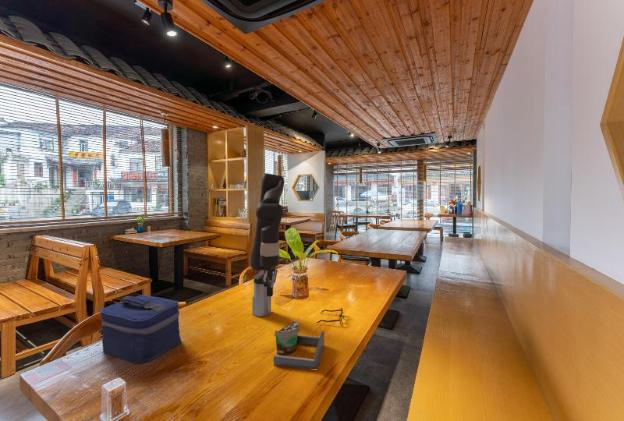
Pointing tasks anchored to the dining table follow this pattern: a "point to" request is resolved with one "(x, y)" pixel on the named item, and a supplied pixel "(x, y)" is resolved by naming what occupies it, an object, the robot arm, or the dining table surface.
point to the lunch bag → (140, 328)
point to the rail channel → (303, 362)
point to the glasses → (333, 320)
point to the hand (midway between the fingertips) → (269, 295)
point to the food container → (287, 339)
